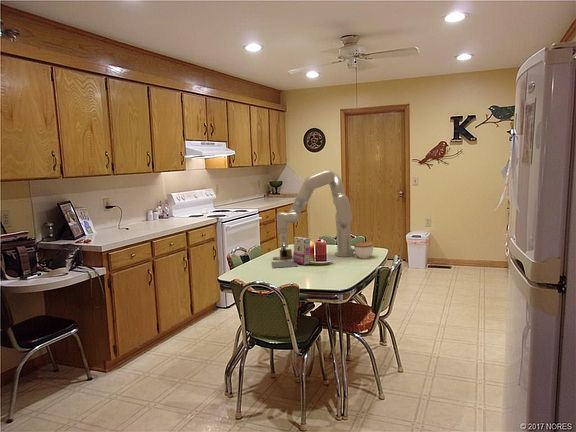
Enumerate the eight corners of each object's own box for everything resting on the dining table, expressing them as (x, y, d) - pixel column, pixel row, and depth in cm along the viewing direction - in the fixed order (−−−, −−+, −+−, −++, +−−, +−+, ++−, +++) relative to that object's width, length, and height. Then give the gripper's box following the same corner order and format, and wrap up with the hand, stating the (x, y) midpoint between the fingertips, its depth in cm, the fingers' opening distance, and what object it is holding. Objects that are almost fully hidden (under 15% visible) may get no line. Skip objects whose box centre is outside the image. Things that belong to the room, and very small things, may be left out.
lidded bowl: (372, 254, 301) (372, 238, 299) (374, 259, 288) (374, 242, 287) (353, 255, 302) (353, 239, 301) (354, 259, 290) (354, 243, 288)
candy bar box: (309, 264, 284) (310, 238, 282) (303, 265, 281) (304, 239, 279) (298, 260, 293) (299, 236, 291) (292, 261, 290) (293, 236, 288)
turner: (291, 257, 307) (291, 248, 306) (292, 258, 302) (291, 250, 301) (272, 258, 306) (272, 250, 306) (272, 260, 301) (272, 251, 301)
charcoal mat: (295, 261, 294) (295, 260, 294) (297, 266, 279) (297, 265, 279) (271, 262, 293) (271, 262, 293) (272, 268, 279) (272, 267, 279)
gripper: (289, 232, 293) (290, 257, 296) (287, 228, 311) (288, 252, 313) (277, 232, 293) (279, 258, 295) (276, 228, 310) (278, 253, 312)
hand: (284, 255), depth 304 cm, fingers open, 9 cm apart
